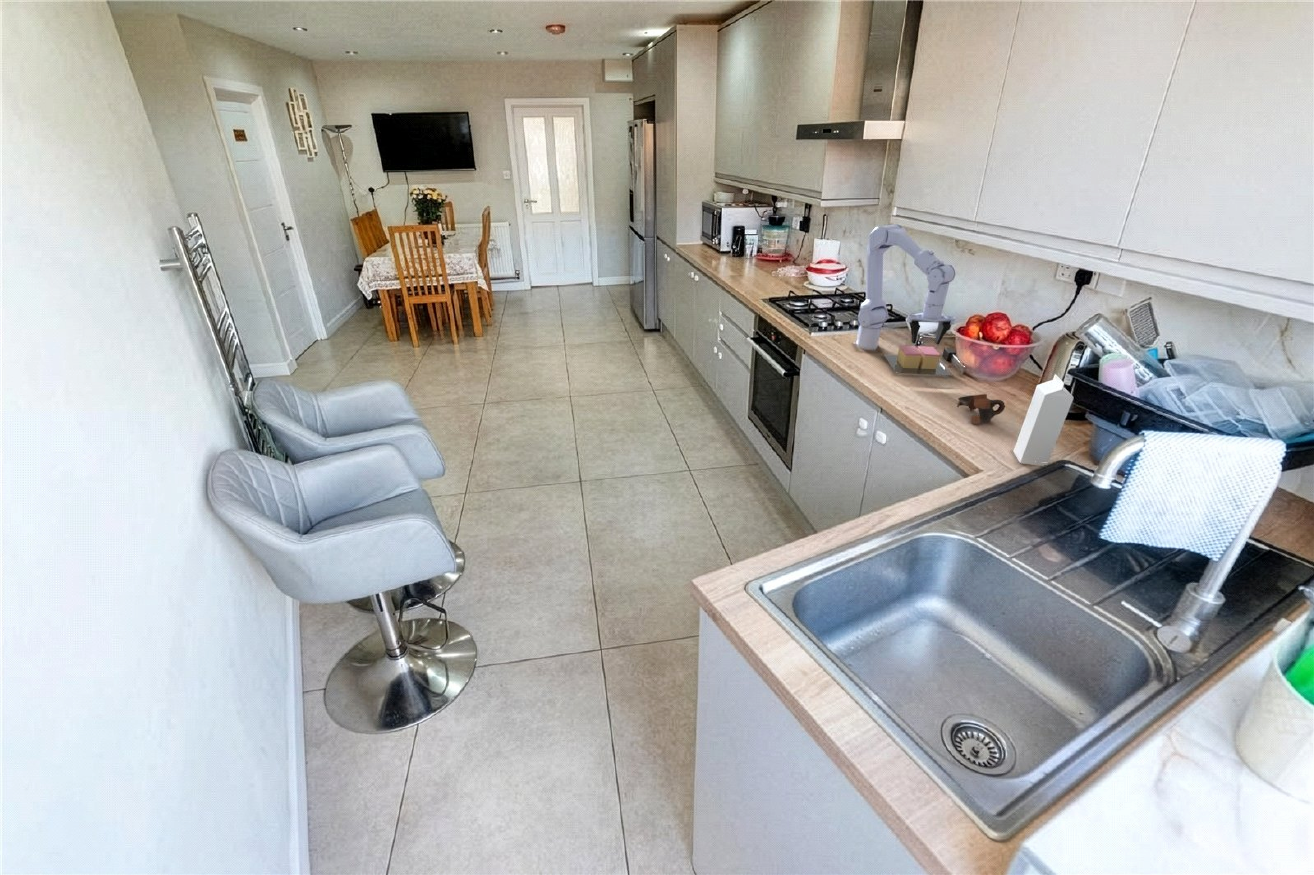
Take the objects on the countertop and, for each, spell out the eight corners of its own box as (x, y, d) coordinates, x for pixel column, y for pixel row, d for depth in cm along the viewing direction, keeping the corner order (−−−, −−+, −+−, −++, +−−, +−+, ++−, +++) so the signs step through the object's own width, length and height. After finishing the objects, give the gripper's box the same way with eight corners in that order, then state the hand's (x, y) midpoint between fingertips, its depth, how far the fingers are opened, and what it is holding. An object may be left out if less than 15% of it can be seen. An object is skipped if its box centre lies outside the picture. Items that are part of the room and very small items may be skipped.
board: (882, 356, 205) (883, 354, 205) (934, 358, 204) (934, 356, 203) (895, 375, 190) (896, 373, 189) (951, 377, 188) (952, 375, 188)
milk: (1038, 454, 144) (1069, 375, 133) (1046, 467, 139) (1079, 384, 128) (1012, 451, 145) (1041, 372, 134) (1019, 463, 140) (1050, 382, 129)
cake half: (896, 359, 200) (899, 345, 198) (911, 360, 200) (914, 346, 197) (902, 368, 193) (906, 353, 191) (917, 368, 193) (921, 354, 190)
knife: (941, 358, 204) (944, 347, 202) (948, 358, 204) (951, 347, 202) (958, 376, 189) (961, 364, 187) (965, 376, 189) (969, 365, 187)
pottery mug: (961, 425, 159) (958, 396, 159) (955, 425, 168) (952, 398, 168) (1010, 420, 155) (1006, 390, 155) (1001, 420, 164) (998, 392, 164)
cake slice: (914, 360, 200) (917, 346, 197) (929, 360, 199) (932, 346, 197) (921, 368, 193) (925, 354, 190) (936, 369, 192) (940, 354, 190)
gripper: (915, 306, 181) (906, 346, 188) (962, 307, 180) (951, 347, 187) (909, 300, 188) (900, 339, 194) (954, 301, 186) (944, 340, 193)
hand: (925, 342), depth 191 cm, fingers open, 7 cm apart
